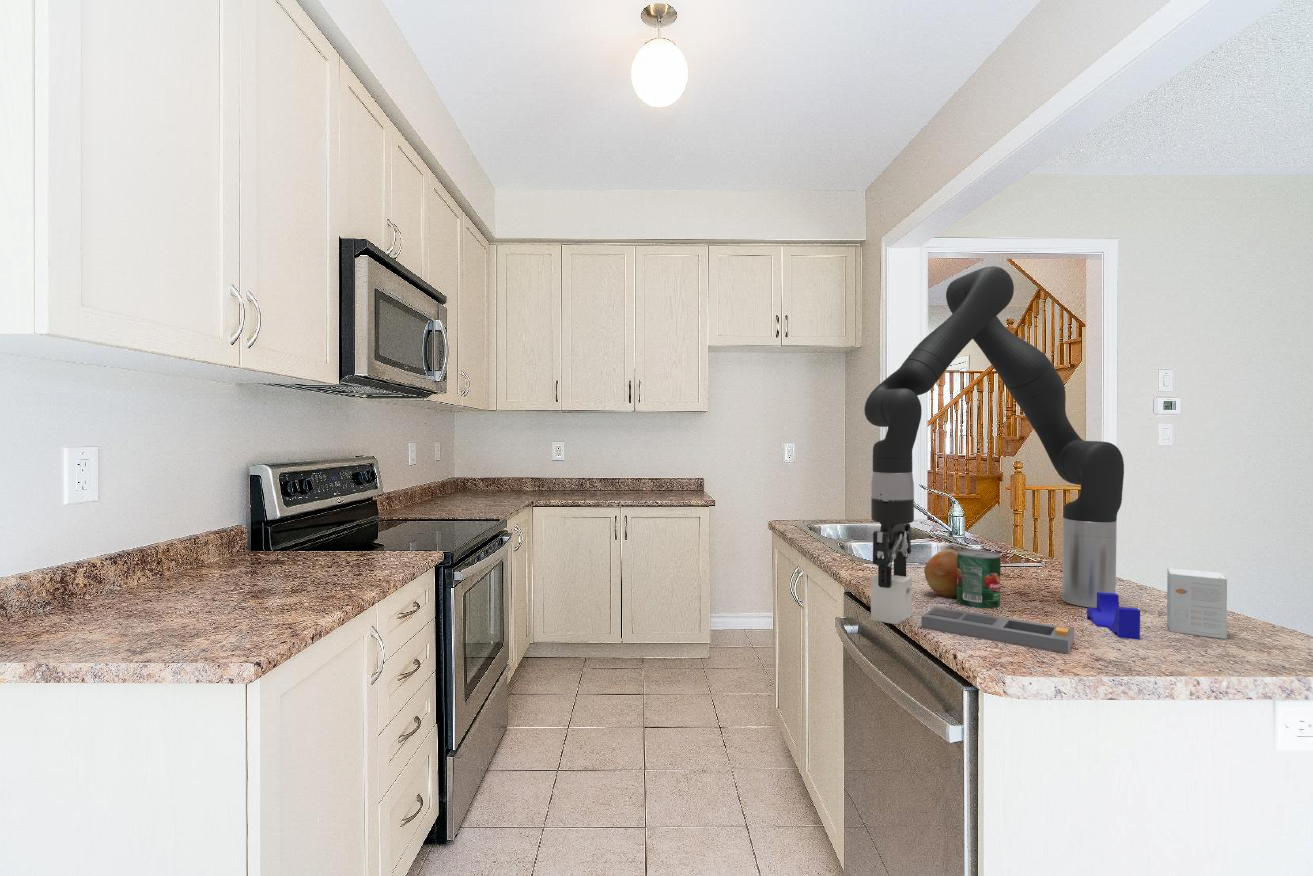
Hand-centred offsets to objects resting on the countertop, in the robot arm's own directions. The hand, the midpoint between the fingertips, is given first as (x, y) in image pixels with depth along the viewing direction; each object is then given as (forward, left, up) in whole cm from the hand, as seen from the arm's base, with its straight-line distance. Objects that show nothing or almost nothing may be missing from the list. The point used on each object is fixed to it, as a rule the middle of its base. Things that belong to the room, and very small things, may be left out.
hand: (892, 582), depth 126 cm
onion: (-25, +4, -7) cm, 26 cm away
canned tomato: (-19, +11, -7) cm, 23 cm away
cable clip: (-16, +33, -7) cm, 37 cm away
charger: (0, 0, -7) cm, 7 cm away
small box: (-26, +45, -7) cm, 52 cm away
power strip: (+1, +18, -7) cm, 19 cm away
